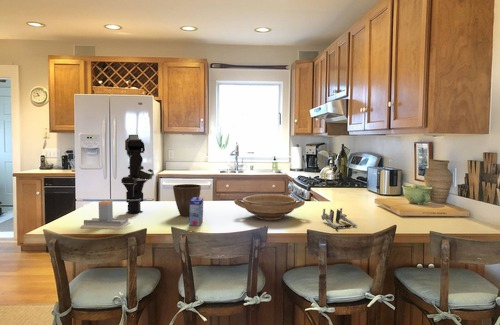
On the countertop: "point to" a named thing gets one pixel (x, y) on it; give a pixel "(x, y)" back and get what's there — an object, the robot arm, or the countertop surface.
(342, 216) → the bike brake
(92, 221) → the rail plate
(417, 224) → the countertop surface
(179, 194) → the plant pot
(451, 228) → the countertop surface
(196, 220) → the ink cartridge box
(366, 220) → the countertop surface
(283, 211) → the ceramic bowl
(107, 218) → the block
